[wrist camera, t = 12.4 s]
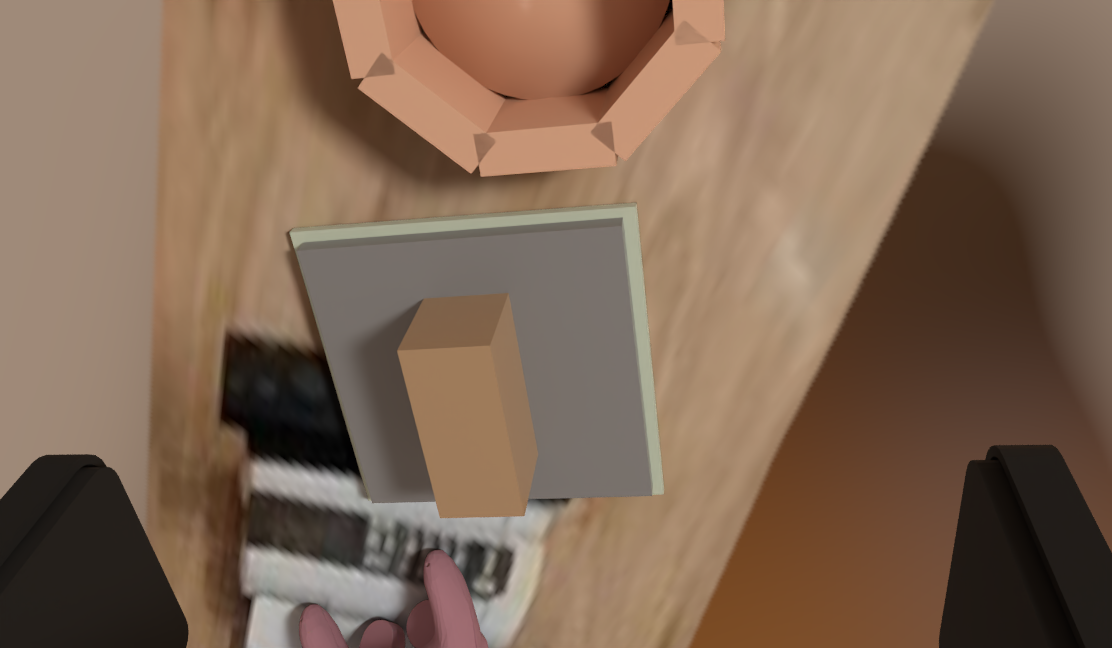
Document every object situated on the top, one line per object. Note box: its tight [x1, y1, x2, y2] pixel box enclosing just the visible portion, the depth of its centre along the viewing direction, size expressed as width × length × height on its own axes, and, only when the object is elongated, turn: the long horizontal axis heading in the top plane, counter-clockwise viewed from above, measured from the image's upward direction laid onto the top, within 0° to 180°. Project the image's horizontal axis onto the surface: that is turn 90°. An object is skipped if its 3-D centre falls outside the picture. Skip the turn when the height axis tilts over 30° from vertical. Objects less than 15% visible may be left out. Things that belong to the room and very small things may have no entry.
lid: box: [297, 217, 653, 518], centre depth 38 cm, size 13×13×5 cm
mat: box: [290, 203, 664, 501], centre depth 40 cm, size 14×14×1 cm
